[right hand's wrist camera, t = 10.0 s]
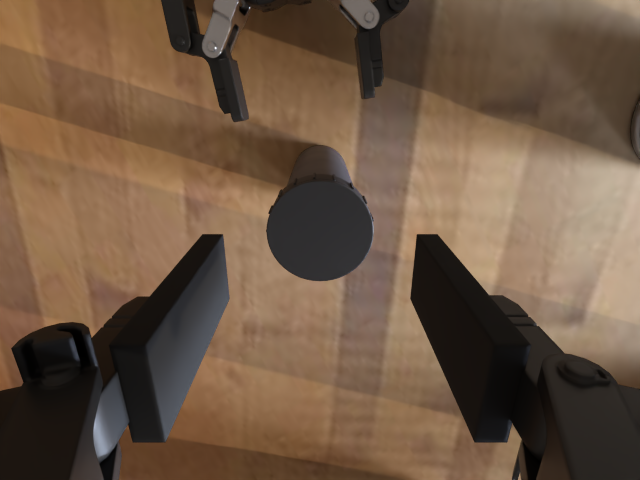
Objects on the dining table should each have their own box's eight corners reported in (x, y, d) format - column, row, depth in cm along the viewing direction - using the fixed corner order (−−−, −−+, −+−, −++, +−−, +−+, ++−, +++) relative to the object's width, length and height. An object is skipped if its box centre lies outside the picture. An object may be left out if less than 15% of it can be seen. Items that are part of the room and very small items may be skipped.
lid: (293, 281, 20) (291, 296, 19) (252, 195, 19) (246, 204, 17) (383, 248, 20) (389, 261, 18) (349, 156, 18) (352, 161, 16)
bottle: (306, 204, 33) (296, 284, 19) (285, 157, 32) (258, 205, 18) (353, 185, 32) (378, 254, 18) (334, 136, 31) (347, 170, 17)
